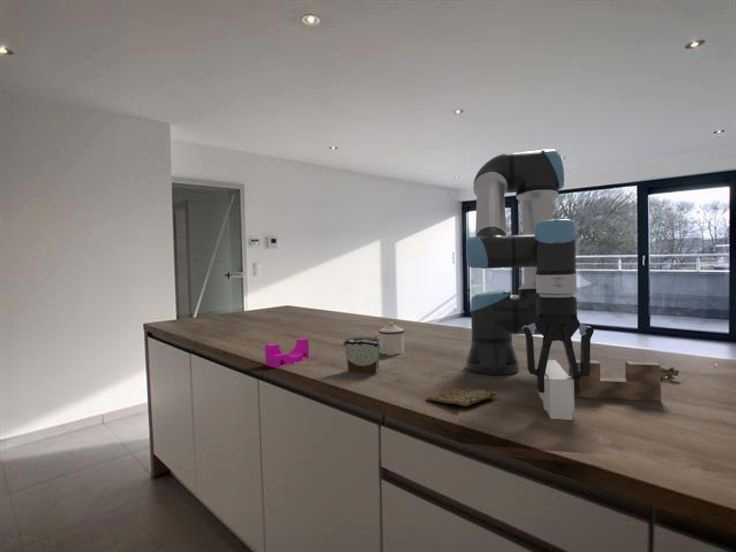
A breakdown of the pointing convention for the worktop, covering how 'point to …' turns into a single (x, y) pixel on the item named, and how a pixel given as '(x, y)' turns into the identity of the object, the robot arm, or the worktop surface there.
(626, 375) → the walnut notched block
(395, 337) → the teacup with lid
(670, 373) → the frog figurine
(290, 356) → the toy block
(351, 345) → the food container
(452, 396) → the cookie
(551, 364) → the white bridge
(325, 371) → the worktop surface
